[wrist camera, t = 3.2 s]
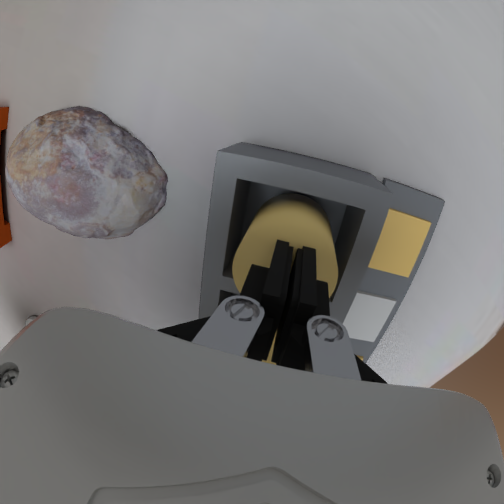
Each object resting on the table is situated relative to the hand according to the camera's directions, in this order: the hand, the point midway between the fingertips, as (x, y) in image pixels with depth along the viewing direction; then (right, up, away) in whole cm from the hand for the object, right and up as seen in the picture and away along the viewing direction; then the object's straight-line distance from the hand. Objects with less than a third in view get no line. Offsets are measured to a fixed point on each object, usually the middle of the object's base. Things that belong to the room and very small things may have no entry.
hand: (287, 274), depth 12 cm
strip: (+8, -4, +10) cm, 14 cm away
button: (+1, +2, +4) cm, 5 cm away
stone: (-16, +8, +10) cm, 20 cm away
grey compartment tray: (0, -2, +11) cm, 11 cm away
